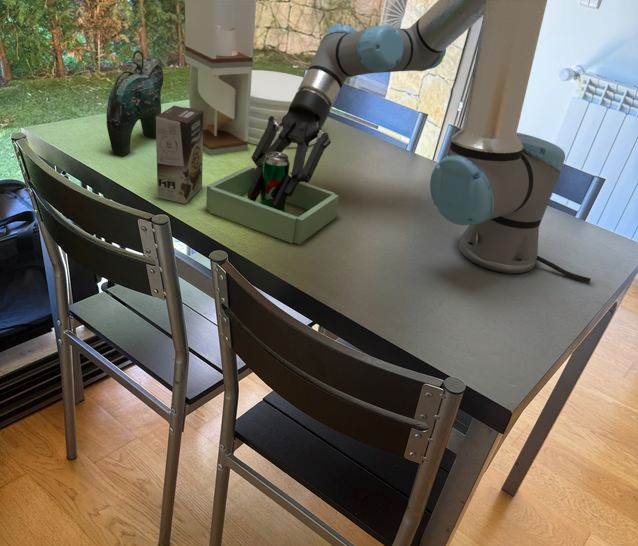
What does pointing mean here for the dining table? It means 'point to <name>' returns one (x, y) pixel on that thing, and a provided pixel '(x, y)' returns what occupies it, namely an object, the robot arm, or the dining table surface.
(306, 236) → the bin
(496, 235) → the robot arm
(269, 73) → the plate stack
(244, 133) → the white tower
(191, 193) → the coffee box
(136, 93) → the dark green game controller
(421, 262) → the dining table surface
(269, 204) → the soda can
